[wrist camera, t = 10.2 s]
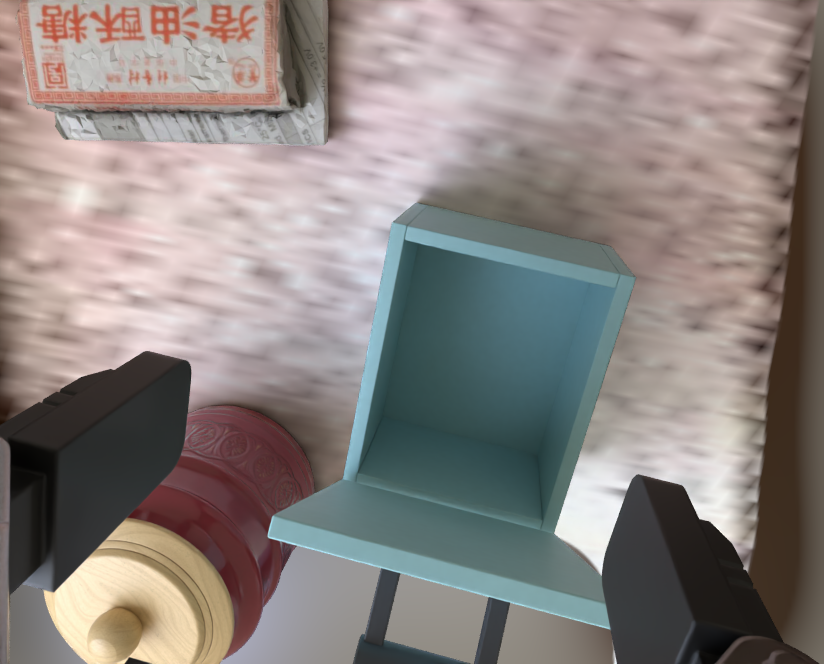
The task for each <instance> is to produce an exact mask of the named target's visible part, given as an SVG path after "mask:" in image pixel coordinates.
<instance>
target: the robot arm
mask: <svg viewBox="0 0 824 664" xmlns="http://www.w3.org/2000/svg"><path fill="white" fill-rule="evenodd" d="M190 384H191V366H190V364H189V362H188V361H186V360H182V359H178V358H174V357H170V356H166V355H162V354H158V353H154V352H150V351H145V352H143V353H141V354H140V355H138V356H136V357H135V358H133V359H132V360H130V361H128V362H127V363H125V364H124V365H122V366H120V367H119V368H117V369H116V370H112V369H109V370H105V371H102V372H98V373H94V374H91V375H87V376H83V377H81V378H79V379H77V380H76V381H74V382H72V383H71V384H69V385H67V386H65V387H64V388H62V389H61V390H60V393H59V392H55V393H54V394H52V395H50V396H49V397H47V398H45V399H43V402H42V403H40V402H38V403H37V404H35V405H33V406H32V407H30V408H28V409H27V410H25V411H23V412H22V413H20V414H18V415H16V416H15V417H13V418H11V419H10V420H8V421H6V422H5V423H3V424H1V425H0V664H9V648H10V647H9V645H10V643H9V641H10V594H11V593H13V592H14V591H15V590H16V589H17V588H18V587H19V586H20V585H21V584H25V585H29V586H32V587H35V588H39V589H43V590H46V591H50V592H53V593H54V592H55V591H56V590H57V589H58V588H59V587H60V586H61V585H62V584H63V583H64V582H65V581H66V580H67V579H68V578H69V577H70V576H71V575H72V574H73V573H74V572H75V571H76V569H77V568H78V567H79V566H80V565H81V564H82V563H83V562H84V561H85V560H86V559H87V558H88V557H89V556H90V555H91V554H92V553H93V552H94V551H95V550H96V549H97V548H98V547H99V546H100V545H101V544H102V543H103V542H104V541H105V540H106V539H107V538H108V537H109V536H110V535H111V534H112V533H113V532H114V530H115V529H116V528H117V527H118V526H119V525H120V524H121V523H122V522H123V521H124V520H125V519H126V518H127V517H128V516H129V515H130V514H131V513H132V512H133V511H134V510H135V509H136V508H137V507H138V506H139V505H140V504H141V503H142V502H143V501H144V500H145V499H146V498H147V497H148V496H149V495H150V494H151V492H152V491H153V490H154V489H155V488H156V487H157V486H158V485H159V484H160V483H161V482H162V481H163V480H164V479H165V478H166V477H167V476H168V475H169V474H170V473H171V472H172V470H173V469H174V468H175V466H176V464H177V462H178V460H179V458H180V456H181V453H182V450H183V446H184V442H185V434H186V424H187V414H188V404H189V394H190ZM743 567H744V565H743V564H742V562H741V560H740V558H739V556H738V554H737V552H736V550H735V548H734V546H733V544H732V543H731V542H730V541H729V540H728V539H727V538H726V537H725V536H724V535H723V534H722V533H721V532H720V531H719V530H718V529H717V528H716V527H715V526H714V525H713V524H712V523H711V522H709V521H705V520H701V519H699V518H698V516H697V514H696V511H695V509H694V507H693V505H692V503H691V501H690V499H689V496H688V494H687V492H686V490H685V488H684V487H683V486H682V485H679V484H675V483H671V482H667V481H663V480H659V479H655V478H651V477H647V476H643V475H639V474H638V475H636V476H635V477H634V478H633V479H632V481H631V483H630V485H629V488H628V490H627V493H626V496H625V499H624V502H623V504H622V507H621V510H620V513H619V516H618V518H617V521H616V524H615V527H614V530H613V532H612V535H611V538H610V541H609V544H608V546H607V550H606V553H605V557H604V562H603V569H602V588H603V593H604V598H605V603H606V609H607V614H608V619H609V624H610V629H611V634H612V640H613V645H614V650H615V655H616V660H617V664H819V663H818V662H816V661H815V660H813V659H812V658H810V657H809V656H808V655H806V654H804V653H802V652H801V651H799V650H797V649H795V648H793V647H791V646H789V645H787V644H785V643H784V642H783V640H782V638H781V637H780V635H779V633H778V631H777V629H776V627H775V625H774V623H773V621H772V619H771V617H770V615H769V614H768V612H767V610H766V608H765V606H764V604H763V602H762V600H761V598H760V596H759V594H758V592H757V591H756V589H753V583H752V581H751V579H750V577H749V575H748V573H747V571H746V570H743ZM125 664H152V663H148V662H145V661H141V660H138V659H134V658H131V657H129V658H128V660H127V661H126V662H125Z"/></svg>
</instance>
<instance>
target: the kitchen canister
mask: <svg viewBox="0 0 824 664" xmlns="http://www.w3.org/2000/svg"><path fill="white" fill-rule="evenodd" d="M313 494H314V479H313V474H312V470H311V467H310V464H309V462H308V460H307V458H306V456H305V454H304V452H303V450H302V449H301V447H300V446H299V445H298V443H297V442H296V441H295V439H294V438H293V437H292V436H291V435H290V434H289V433H288V432H287V431H286V430H285V429H284V428H282V427H281V426H280V425H279V424H277V423H276V422H274V421H273V420H271V419H270V418H268V417H266V416H264V415H262V414H260V413H258V412H255V411H252V410H249V409H246V408H242V407H237V406H228V405H219V406H210V407H205V408H201V409H198V410H195V411H193V412H191V413H188V414H187V424H186V434H185V442H184V446H183V450H182V453H181V456H180V458H179V460H178V462H177V464H176V466H175V468H174V469H173V470H172V472H171V473H170V474H169V475H168V476H167V477H166V478H165V479H164V480H163V481H162V482H161V483H160V484H159V485H158V486H157V487H156V488H155V489H154V490H153V491H152V492H151V494H150V495H149V496H148V497H147V498H146V499H145V500H144V501H143V502H142V503H141V504H140V505H139V506H138V507H137V508H136V509H135V510H134V511H133V512H132V513H131V514H130V515H129V516H128V517H127V518H126V519H125V520H124V521H123V522H122V523H121V524H120V525H119V526H118V527H117V528H116V529H115V530H114V532H113V533H112V534H111V535H110V536H109V537H108V538H107V539H106V540H105V541H104V542H103V543H102V544H101V545H100V546H99V547H98V548H97V549H96V550H95V551H94V552H93V553H92V554H91V555H90V556H89V557H88V558H87V559H86V560H85V561H84V562H83V563H82V564H81V565H80V566H79V567H78V568H77V569H76V571H75V572H74V573H73V574H72V575H71V576H70V577H69V578H68V579H67V580H66V581H65V582H64V583H63V584H62V585H61V586H60V587H59V588H58V589H57V590H56V591H55V592H54V593H53V592H50V591H46V590H44V595H45V600H46V604H47V607H48V611H49V613H50V615H51V618H52V620H53V622H54V624H55V625H56V627H57V629H58V631H59V632H60V633H61V635H62V636H63V637H64V639H65V640H66V642H67V643H68V644H69V645H70V646H71V648H72V649H73V650H74V651H75V652H76V653H77V654H78V655H79V656H80V657H81V658H82V659H83V660H84V661H85V662H87V663H88V664H125V662H126V661H127V660H128V658H129V657H131V658H134V659H138V660H141V661H145V662H148V663H152V664H220V662H221V661H222V660H224V659H226V658H227V657H229V656H231V655H232V654H234V653H235V652H237V651H238V650H239V649H240V648H241V647H242V646H243V645H244V644H245V643H246V642H247V641H248V640H249V639H250V637H251V636H252V634H253V633H254V631H255V630H256V628H257V625H258V623H259V620H260V618H261V614H262V610H263V607H264V606H265V605H266V604H267V603H268V601H269V600H270V599H271V597H272V595H273V594H274V592H275V590H276V588H277V585H278V583H279V579H280V575H281V572H282V570H283V568H284V566H285V564H286V562H287V560H288V559H289V557H290V555H291V553H292V551H293V550H294V549H295V547H296V546H297V545H293V544H289V543H286V542H282V541H278V540H274V539H271V538H269V537H268V531H269V527H270V524H271V520H272V516H273V515H274V514H276V513H278V512H280V511H282V510H284V509H286V508H288V507H290V506H292V505H294V504H296V503H297V502H299V501H301V500H303V499H305V498H307V497H309V496H311V495H313Z"/></svg>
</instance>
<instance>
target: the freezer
mask: <svg viewBox="0 0 824 664" xmlns="http://www.w3.org/2000/svg"><path fill="white" fill-rule="evenodd" d="M635 280H636V277H635V276H634V274H633V273H632V272H631V271H630V269H629V268H628V267H627V266H626V264H625V263H624V262H623V261H622V259H621V258H620V257H619V256H618V254H617V253H616V252H615V251H614V249H612V247H611V246H607V245H602V244H598V243H593V242H589V241H584V240H580V239H576V238H571V237H567V236H562V235H558V234H553V233H549V232H545V231H540V230H536V229H531V228H527V227H522V226H518V225H513V224H509V223H505V222H500V221H496V220H491V219H487V218H482V217H478V216H473V215H469V214H465V213H460V212H456V211H451V210H447V209H442V208H438V207H434V206H429V205H425V204H420V203H415V204H414V205H413V206H411V207H410V208H409V209H408V210H407V211H405V212H404V213H403V214H402V215H401V216H399V217H398V218H397V219H396V220H395V221H393V222H392V226H391V231H390V236H389V242H388V247H387V252H386V257H385V262H384V268H383V273H382V278H381V283H380V288H379V294H378V299H377V304H376V309H375V314H374V320H373V325H372V330H371V335H370V340H369V346H368V351H367V356H366V361H365V366H364V372H363V377H362V382H361V387H360V392H359V397H358V403H357V408H356V413H355V418H354V423H353V429H352V434H351V439H350V444H349V449H348V455H347V460H346V465H345V470H344V475H343V479H345V480H349V481H353V482H356V483H360V484H364V485H368V486H372V487H376V488H380V489H383V490H387V491H391V492H395V493H399V494H403V495H407V496H411V497H414V498H418V499H422V500H426V501H430V502H434V503H438V504H441V505H445V506H449V507H453V508H457V509H461V510H465V511H469V512H472V513H476V514H480V515H484V516H488V517H492V518H496V519H499V520H503V521H507V522H511V523H515V524H519V525H523V526H527V527H530V528H534V529H538V530H542V531H546V532H550V533H554V531H555V528H556V525H557V522H558V519H559V516H560V513H561V510H562V507H563V504H564V500H565V497H566V494H567V491H568V488H569V485H570V482H571V479H572V476H573V472H574V469H575V466H576V463H577V460H578V457H579V454H580V451H581V448H582V445H583V441H584V438H585V435H586V432H587V429H588V426H589V423H590V420H591V417H592V414H593V410H594V407H595V404H596V401H597V398H598V395H599V392H600V389H601V386H602V382H603V379H604V376H605V373H606V370H607V367H608V364H609V361H610V358H611V355H612V351H613V348H614V345H615V342H616V339H617V336H618V333H619V330H620V327H621V324H622V320H623V317H624V314H625V311H626V308H627V305H628V302H629V299H630V296H631V292H632V289H633V286H634V283H635Z"/></svg>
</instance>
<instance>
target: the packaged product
mask: <svg viewBox="0 0 824 664" xmlns="http://www.w3.org/2000/svg"><path fill="white" fill-rule="evenodd" d="M16 23H17V25H18V26H19V30H20V42H21V47H22V54H23V59H22V65H23V70H24V71H23V76H24V78H25V82H26V89H27V102H28V104H29V105H32V106H35V107H36V108H37V109H38V108H43V109H46V110H48V111H52V112H55V118H56V125H55V127H56V128H57V130H58V131H59V133H60V134H61V136H62V137H63V138H64V139H67V140H118V141H142V142H187V143H208V144H224V143H238V144H265V145H291V146H310V145H325V144H326V143H327V142H328V121H329V118H328V1H327V0H20V4H19V10H18V13H17V15H16Z"/></svg>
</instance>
